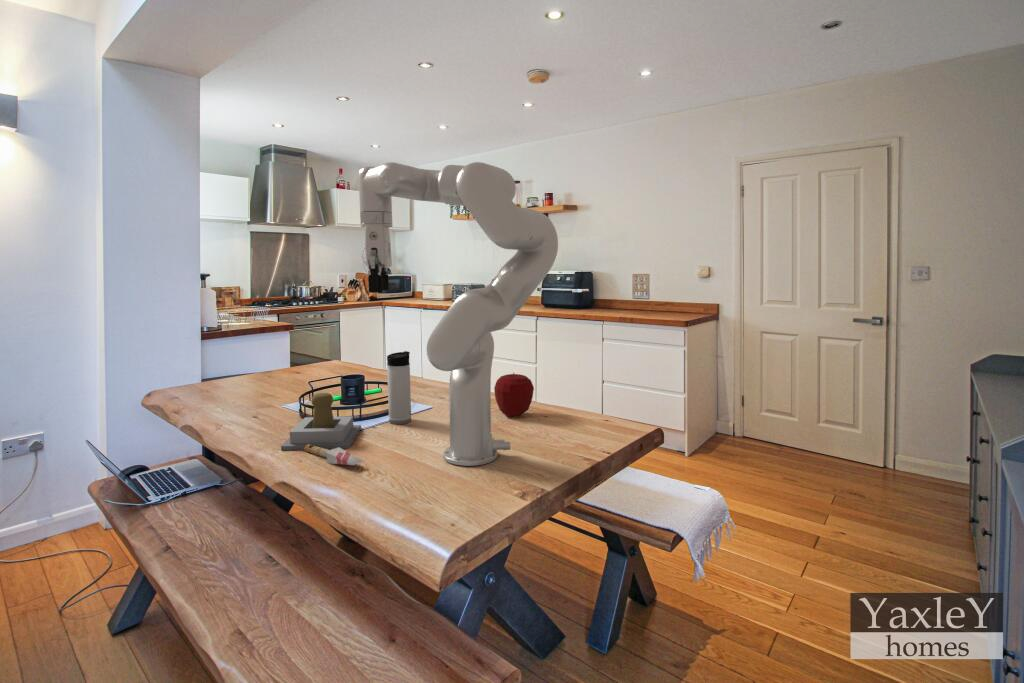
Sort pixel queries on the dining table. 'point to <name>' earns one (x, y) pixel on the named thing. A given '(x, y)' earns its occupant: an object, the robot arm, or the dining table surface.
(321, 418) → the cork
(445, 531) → the dining table surface
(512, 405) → the apple
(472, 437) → the robot arm
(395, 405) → the travel mug
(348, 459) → the paintbrush
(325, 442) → the holder
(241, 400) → the dining table surface
